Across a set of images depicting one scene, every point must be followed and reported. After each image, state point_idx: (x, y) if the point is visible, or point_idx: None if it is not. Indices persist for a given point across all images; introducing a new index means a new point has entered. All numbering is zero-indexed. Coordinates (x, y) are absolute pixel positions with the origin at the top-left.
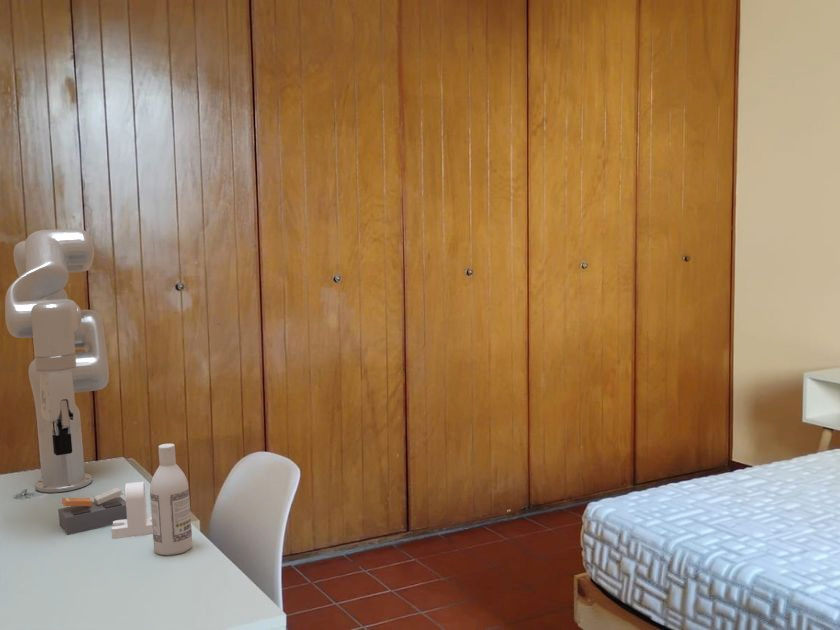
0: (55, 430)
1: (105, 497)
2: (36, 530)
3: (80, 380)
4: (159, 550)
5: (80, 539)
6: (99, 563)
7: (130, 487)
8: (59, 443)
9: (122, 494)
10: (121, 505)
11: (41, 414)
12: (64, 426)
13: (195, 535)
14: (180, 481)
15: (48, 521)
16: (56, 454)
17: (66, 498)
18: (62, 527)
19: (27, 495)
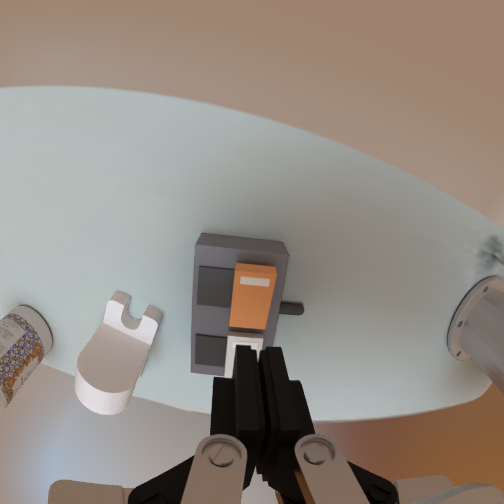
0: (213, 472)
1: (226, 354)
2: (291, 191)
3: None
4: (15, 308)
5: (153, 244)
6: (28, 228)
7: (81, 384)
8: (218, 405)
9: None
10: (195, 361)
11: (484, 494)
12: (54, 490)
13: (68, 371)
14: None
15: (332, 233)
16: (237, 348)
17: (265, 281)
18: (252, 239)
19: (489, 257)
